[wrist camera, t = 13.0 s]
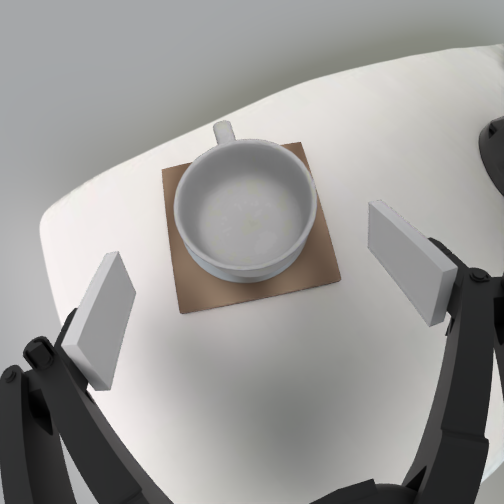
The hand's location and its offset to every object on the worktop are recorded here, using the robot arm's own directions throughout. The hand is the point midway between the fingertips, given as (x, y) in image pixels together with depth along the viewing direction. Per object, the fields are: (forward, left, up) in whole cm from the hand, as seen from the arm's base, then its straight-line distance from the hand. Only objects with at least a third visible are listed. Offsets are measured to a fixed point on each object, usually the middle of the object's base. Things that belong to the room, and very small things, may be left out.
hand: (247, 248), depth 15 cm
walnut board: (0, -7, -16) cm, 17 cm away
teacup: (-1, -7, -14) cm, 16 cm away
